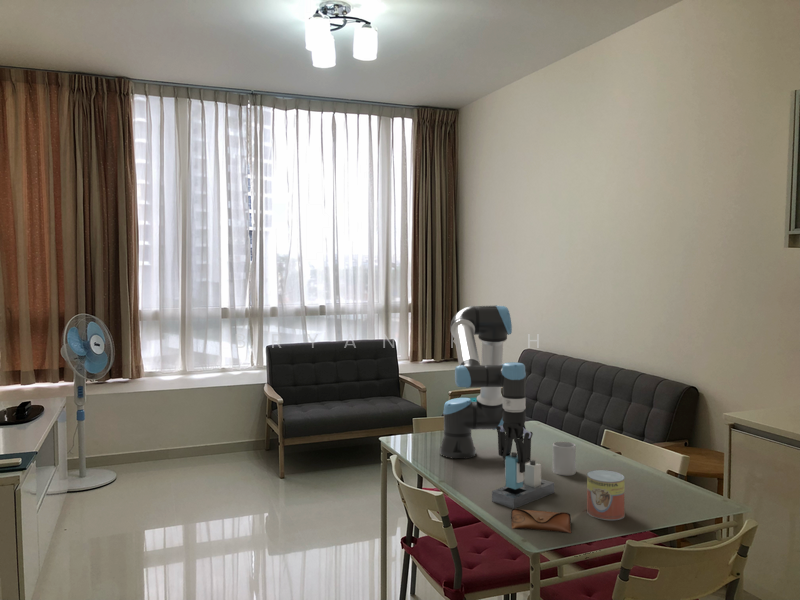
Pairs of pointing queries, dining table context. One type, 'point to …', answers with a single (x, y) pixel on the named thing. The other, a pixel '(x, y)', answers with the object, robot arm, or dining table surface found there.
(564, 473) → the mug
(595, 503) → the canned food
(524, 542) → the dining table surface
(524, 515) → the sunglasses case
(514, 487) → the plug
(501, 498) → the strip
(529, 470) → the white knobbed block
